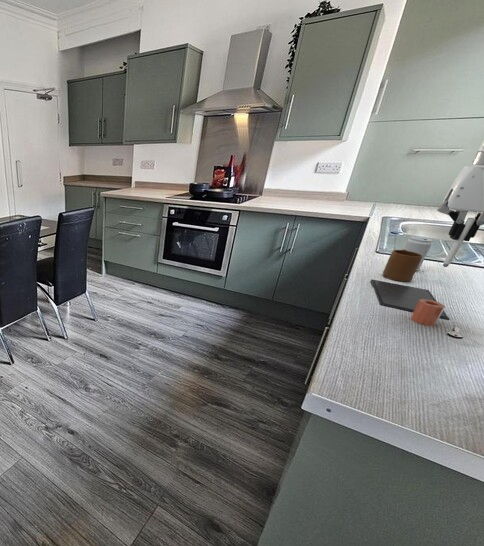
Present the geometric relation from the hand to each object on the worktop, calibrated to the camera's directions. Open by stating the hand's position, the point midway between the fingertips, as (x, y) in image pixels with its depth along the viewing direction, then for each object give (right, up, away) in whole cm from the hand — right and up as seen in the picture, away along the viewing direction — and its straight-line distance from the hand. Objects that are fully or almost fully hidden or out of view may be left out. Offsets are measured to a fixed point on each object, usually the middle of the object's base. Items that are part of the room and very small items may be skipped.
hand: (459, 238), depth 77 cm
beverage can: (+33, -7, +43) cm, 54 cm away
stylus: (0, -7, +3) cm, 8 cm away
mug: (+21, -10, +36) cm, 43 cm away
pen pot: (-2, -22, +7) cm, 23 cm away
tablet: (+7, -17, +19) cm, 26 cm away
